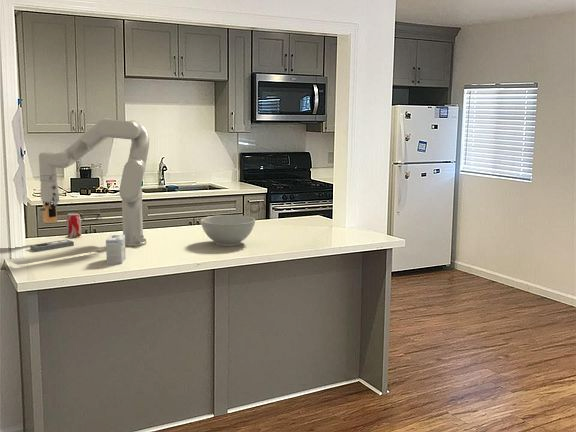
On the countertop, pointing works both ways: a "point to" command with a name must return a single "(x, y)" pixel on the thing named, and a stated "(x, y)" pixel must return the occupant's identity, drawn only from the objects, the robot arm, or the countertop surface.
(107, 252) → the light grey box
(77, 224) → the soda can
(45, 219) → the charger
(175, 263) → the countertop surface
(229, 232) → the decorative bowl
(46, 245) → the power strip
